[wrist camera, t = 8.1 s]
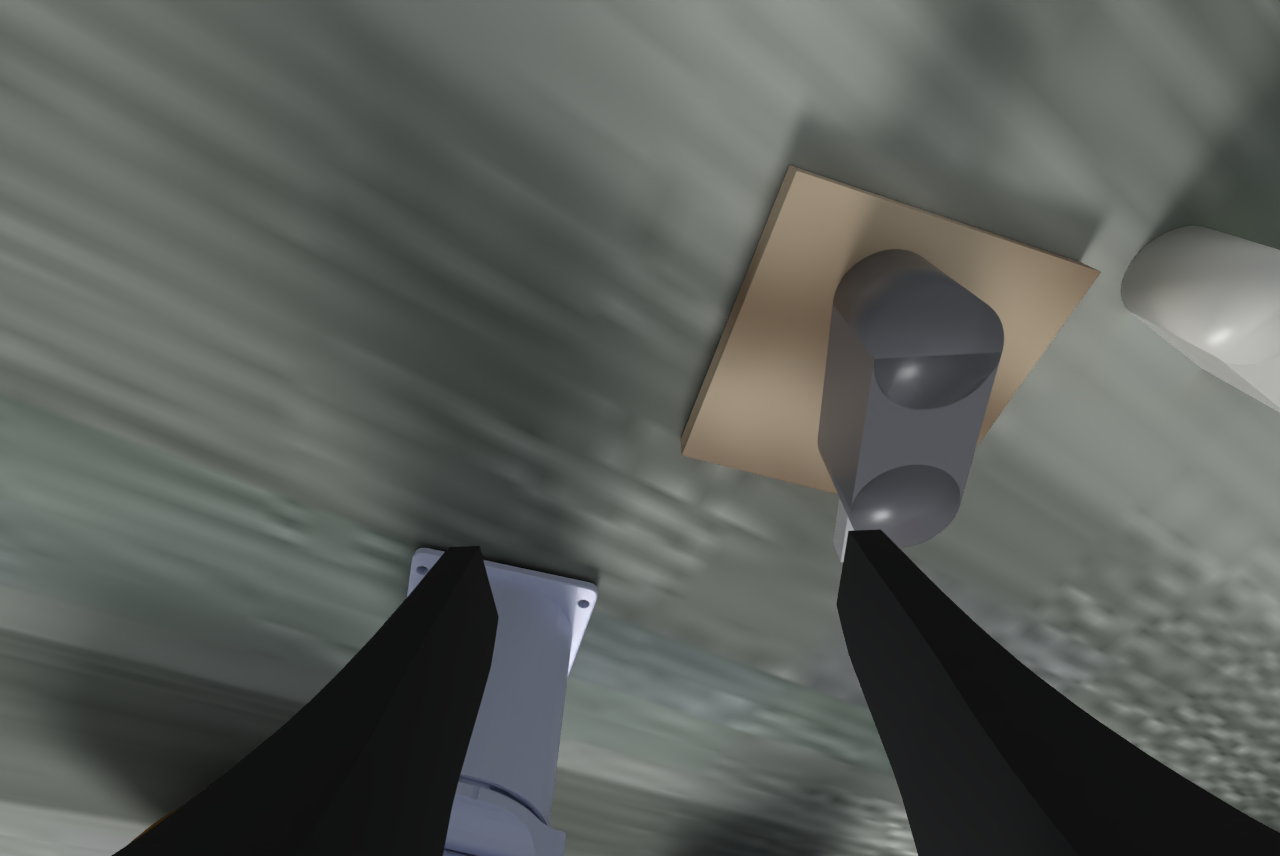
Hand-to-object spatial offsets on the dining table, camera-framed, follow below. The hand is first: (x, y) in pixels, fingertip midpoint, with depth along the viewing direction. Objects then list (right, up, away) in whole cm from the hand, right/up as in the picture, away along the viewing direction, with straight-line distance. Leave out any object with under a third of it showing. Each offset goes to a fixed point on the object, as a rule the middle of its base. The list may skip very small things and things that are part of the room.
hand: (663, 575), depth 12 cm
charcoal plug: (+7, +4, +9) cm, 12 cm away
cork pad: (+7, +5, +9) cm, 13 cm away
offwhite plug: (+18, +7, +8) cm, 21 cm away
